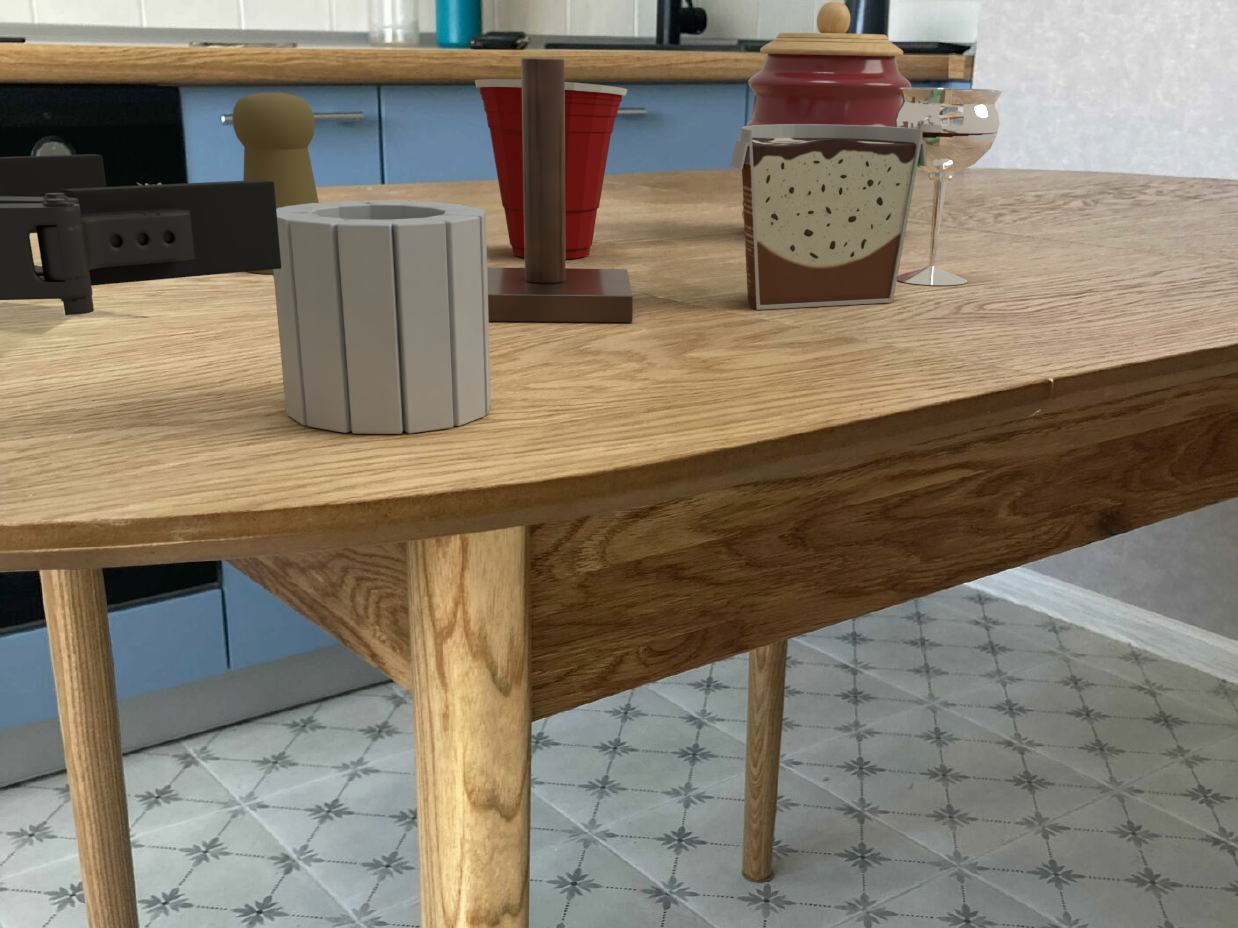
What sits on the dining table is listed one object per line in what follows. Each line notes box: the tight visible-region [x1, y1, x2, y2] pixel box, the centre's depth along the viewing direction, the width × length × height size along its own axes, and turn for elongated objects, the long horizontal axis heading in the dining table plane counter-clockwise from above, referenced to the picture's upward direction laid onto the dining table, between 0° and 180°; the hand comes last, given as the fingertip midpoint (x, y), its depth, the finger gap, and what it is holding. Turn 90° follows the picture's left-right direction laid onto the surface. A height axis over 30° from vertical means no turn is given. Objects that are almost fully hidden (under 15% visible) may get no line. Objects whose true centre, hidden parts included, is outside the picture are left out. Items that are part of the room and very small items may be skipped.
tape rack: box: [487, 57, 634, 324], centre depth 78 cm, size 10×10×14 cm
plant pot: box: [272, 199, 492, 435], centre depth 56 cm, size 8×8×8 cm
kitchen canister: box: [741, 1, 912, 232], centre depth 110 cm, size 13×13×18 cm
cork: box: [231, 92, 320, 275], centre depth 90 cm, size 6×6×11 cm
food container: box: [730, 124, 927, 311], centre depth 83 cm, size 12×6×10 cm, turn 111°
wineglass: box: [894, 87, 1003, 286], centre depth 90 cm, size 7×7×12 cm
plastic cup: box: [474, 78, 628, 260], centre depth 98 cm, size 11×11×12 cm
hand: (181, 206), depth 49 cm, fingers open, 13 cm apart
